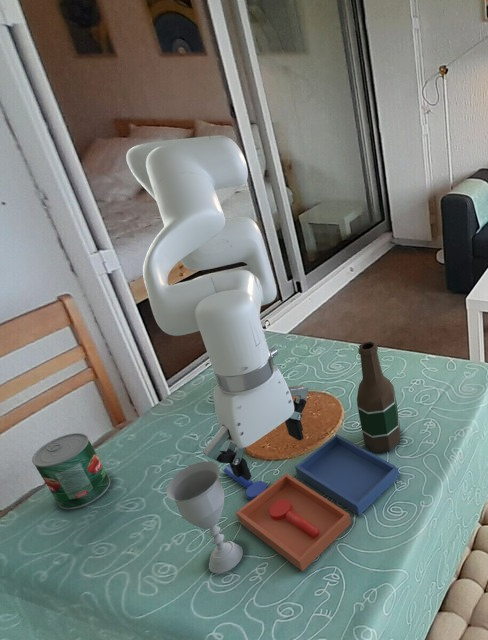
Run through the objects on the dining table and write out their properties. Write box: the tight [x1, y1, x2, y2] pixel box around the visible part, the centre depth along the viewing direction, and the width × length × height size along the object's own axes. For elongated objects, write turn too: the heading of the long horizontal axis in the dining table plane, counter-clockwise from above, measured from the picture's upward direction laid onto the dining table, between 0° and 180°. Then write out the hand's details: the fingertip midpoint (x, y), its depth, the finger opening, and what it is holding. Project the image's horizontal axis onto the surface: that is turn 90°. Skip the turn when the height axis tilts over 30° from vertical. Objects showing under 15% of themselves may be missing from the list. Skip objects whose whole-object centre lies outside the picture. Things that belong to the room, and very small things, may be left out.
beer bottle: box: [356, 341, 401, 454], centre depth 100 cm, size 8×8×24 cm
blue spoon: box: [223, 465, 269, 501], centre depth 95 cm, size 12×4×2 cm, turn 58°
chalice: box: [166, 460, 244, 575], centre depth 78 cm, size 7×7×18 cm
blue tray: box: [294, 433, 400, 517], centre depth 96 cm, size 17×10×2 cm, turn 58°
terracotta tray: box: [235, 473, 352, 572], centre depth 87 cm, size 17×10×2 cm, turn 58°
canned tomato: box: [31, 432, 111, 510], centre depth 92 cm, size 8×8×11 cm
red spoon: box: [269, 499, 319, 538], centre depth 87 cm, size 12×4×2 cm, turn 58°
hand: (271, 455), depth 82 cm, fingers open, 9 cm apart
